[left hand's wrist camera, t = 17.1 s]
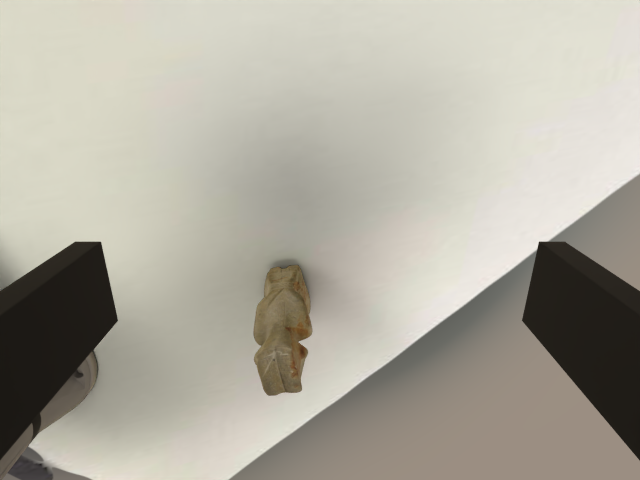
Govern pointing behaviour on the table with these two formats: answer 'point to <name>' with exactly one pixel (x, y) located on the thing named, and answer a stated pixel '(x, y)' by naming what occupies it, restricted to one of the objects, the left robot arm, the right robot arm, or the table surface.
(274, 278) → the sculpture
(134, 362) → the table surface
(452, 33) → the table surface
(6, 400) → the left robot arm
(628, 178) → the table surface
